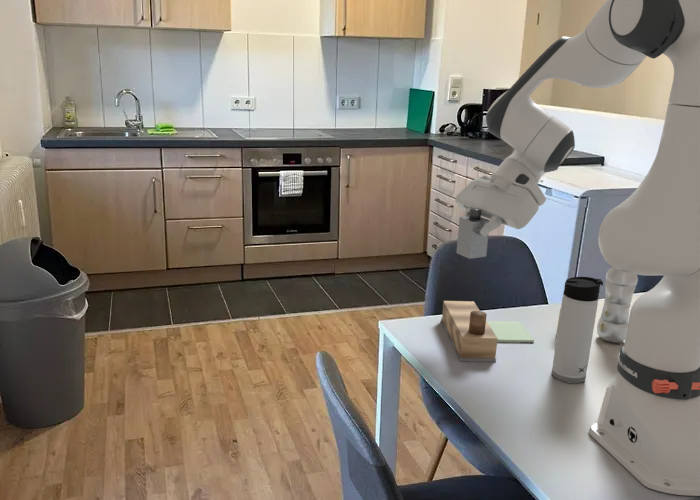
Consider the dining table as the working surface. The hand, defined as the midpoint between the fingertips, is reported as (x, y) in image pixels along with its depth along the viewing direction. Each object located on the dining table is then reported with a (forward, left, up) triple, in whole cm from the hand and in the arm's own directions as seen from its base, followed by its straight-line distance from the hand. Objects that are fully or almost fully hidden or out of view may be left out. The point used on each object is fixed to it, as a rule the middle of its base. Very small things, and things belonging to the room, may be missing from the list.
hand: (471, 230), depth 135 cm
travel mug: (-21, -17, -23) cm, 35 cm away
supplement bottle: (-2, -24, -23) cm, 33 cm away
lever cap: (0, -1, -5) cm, 5 cm away
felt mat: (-1, -10, -23) cm, 25 cm away
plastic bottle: (-4, -33, -23) cm, 40 cm away
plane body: (-5, 0, -23) cm, 24 cm away
